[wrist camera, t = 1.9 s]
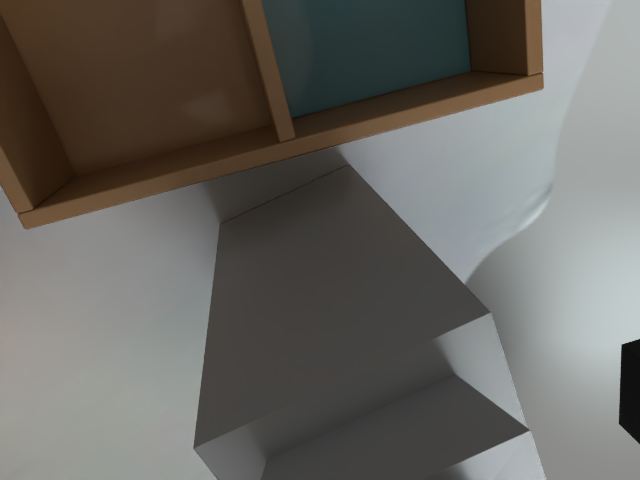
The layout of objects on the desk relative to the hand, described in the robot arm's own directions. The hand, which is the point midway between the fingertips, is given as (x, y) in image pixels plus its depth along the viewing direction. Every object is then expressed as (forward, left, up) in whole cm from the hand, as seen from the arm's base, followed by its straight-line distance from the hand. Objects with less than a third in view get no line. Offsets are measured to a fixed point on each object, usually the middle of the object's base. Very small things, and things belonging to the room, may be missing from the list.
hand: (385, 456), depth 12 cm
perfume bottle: (0, 0, -13) cm, 13 cm away
